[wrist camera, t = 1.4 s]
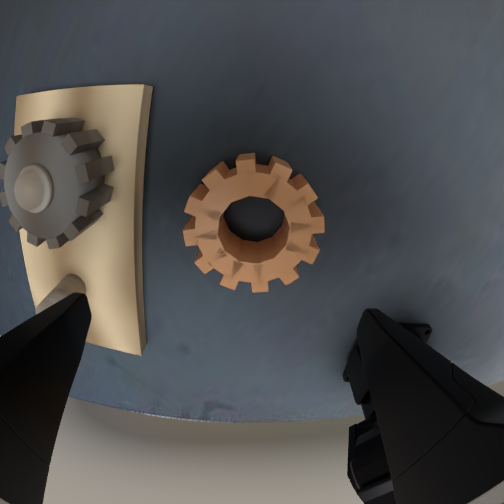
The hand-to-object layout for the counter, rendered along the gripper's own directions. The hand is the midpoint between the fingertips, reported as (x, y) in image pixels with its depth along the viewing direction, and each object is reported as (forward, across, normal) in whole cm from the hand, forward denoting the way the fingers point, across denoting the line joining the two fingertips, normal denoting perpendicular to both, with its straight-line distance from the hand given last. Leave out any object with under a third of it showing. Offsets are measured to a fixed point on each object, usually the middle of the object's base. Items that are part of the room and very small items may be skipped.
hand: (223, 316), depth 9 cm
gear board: (+11, +11, +2) cm, 15 cm away
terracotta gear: (+10, -1, 0) cm, 10 cm away
